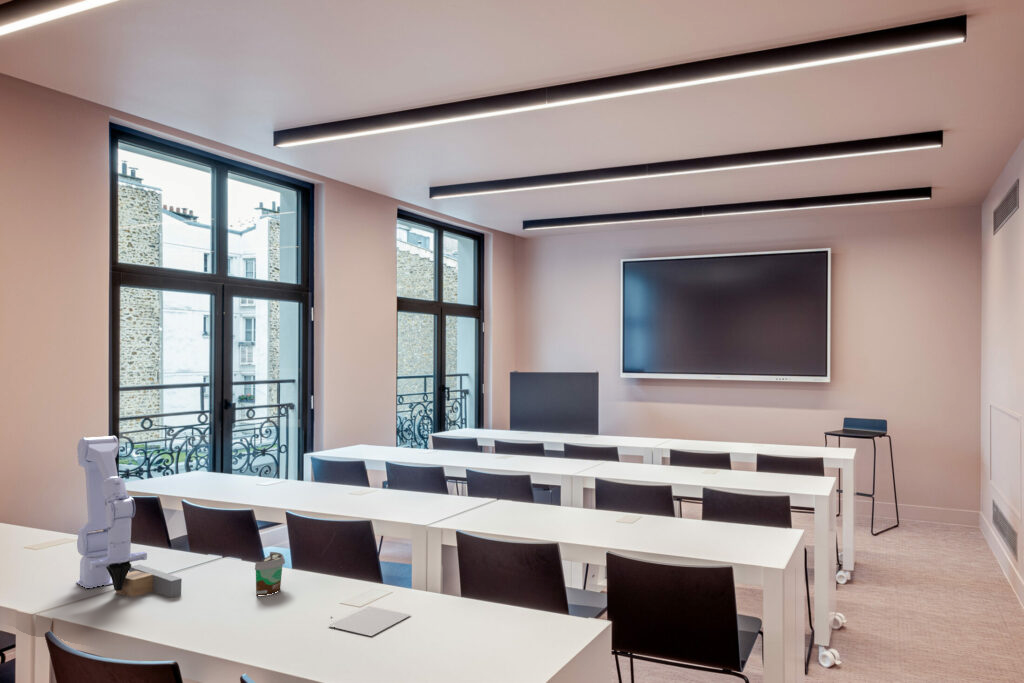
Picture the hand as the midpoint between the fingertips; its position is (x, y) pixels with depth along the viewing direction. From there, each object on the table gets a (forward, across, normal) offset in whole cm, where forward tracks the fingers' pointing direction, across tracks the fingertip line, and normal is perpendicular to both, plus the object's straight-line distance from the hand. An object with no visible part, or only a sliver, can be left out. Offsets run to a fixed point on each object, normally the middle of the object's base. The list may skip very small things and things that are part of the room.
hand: (117, 589), depth 199 cm
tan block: (+2, +5, +1) cm, 5 cm away
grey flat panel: (+2, +39, -63) cm, 74 cm away
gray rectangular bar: (+2, +10, 0) cm, 10 cm away
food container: (+2, +32, -28) cm, 43 cm away
